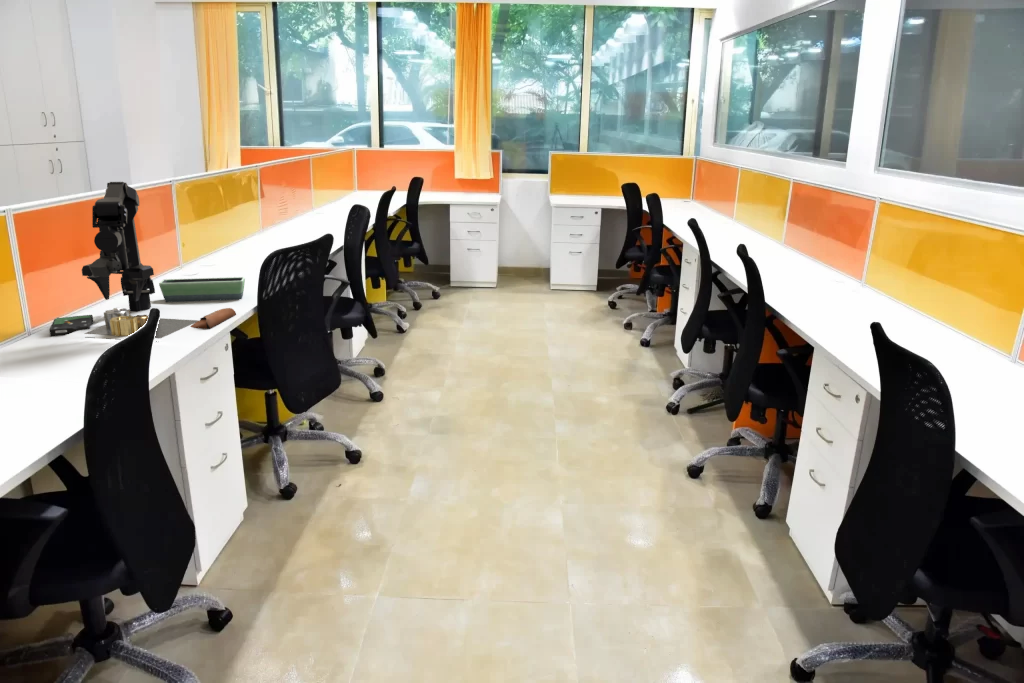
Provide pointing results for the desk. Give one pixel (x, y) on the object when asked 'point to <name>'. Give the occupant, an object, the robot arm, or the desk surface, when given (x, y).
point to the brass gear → (123, 325)
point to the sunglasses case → (214, 318)
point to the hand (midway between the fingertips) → (121, 300)
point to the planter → (202, 289)
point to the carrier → (142, 323)
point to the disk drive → (70, 325)
